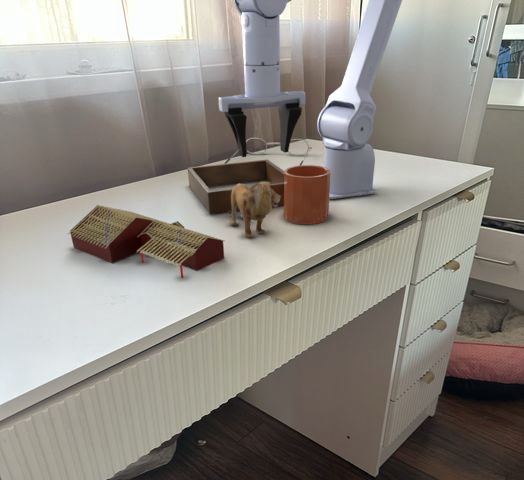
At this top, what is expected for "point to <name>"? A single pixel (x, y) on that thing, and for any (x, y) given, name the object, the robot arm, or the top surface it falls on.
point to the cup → (306, 194)
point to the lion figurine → (252, 204)
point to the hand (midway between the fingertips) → (263, 153)
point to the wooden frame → (232, 181)
